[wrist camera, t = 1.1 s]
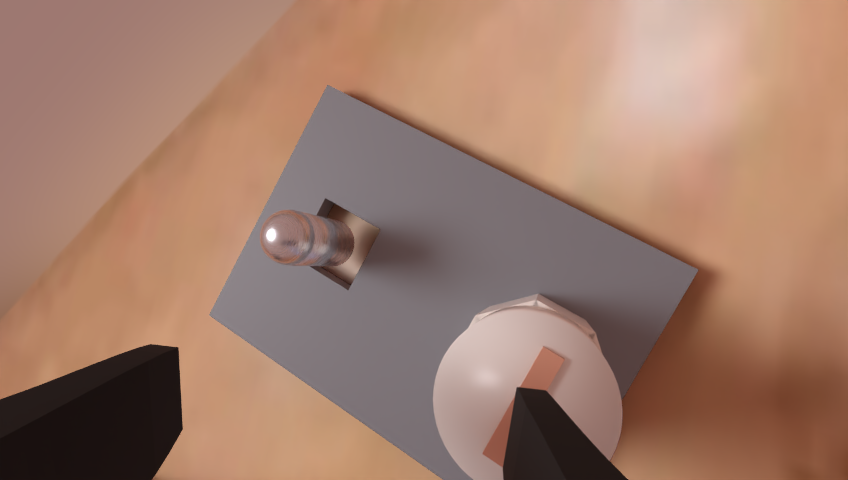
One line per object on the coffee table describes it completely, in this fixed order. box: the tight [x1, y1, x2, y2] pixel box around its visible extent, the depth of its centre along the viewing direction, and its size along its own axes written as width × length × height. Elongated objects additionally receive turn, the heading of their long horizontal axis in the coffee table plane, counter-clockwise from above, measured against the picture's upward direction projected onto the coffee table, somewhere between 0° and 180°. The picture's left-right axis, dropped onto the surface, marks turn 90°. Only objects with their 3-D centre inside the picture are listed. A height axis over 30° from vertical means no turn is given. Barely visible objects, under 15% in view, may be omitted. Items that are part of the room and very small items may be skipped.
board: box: [209, 85, 698, 480], centre depth 20 cm, size 17×12×1 cm
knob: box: [433, 294, 623, 480], centre depth 15 cm, size 5×5×7 cm
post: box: [260, 210, 354, 266], centre depth 18 cm, size 2×2×5 cm
